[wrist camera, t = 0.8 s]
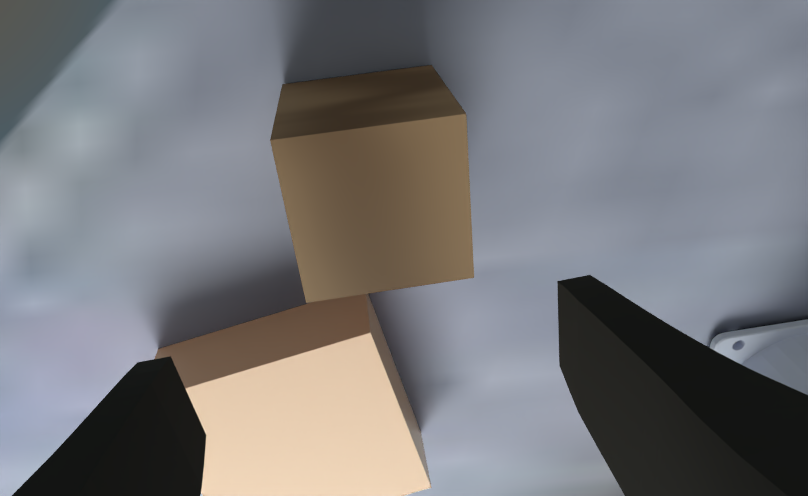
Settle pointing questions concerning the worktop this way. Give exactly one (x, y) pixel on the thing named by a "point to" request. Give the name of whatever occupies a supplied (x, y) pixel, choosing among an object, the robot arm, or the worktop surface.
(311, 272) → the walnut block
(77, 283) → the worktop surface
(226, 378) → the peach slab
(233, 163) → the worktop surface
